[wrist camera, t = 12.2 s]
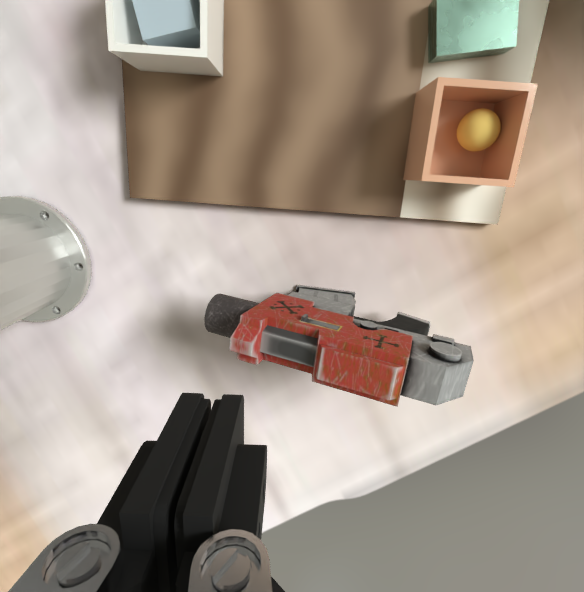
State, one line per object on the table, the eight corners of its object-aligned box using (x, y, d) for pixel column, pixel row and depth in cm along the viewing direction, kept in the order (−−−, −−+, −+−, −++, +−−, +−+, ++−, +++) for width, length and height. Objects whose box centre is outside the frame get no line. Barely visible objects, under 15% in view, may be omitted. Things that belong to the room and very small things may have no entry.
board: (135, 196, 37) (129, 197, 36) (123, -31, 31) (116, -39, 30) (491, 222, 36) (498, 224, 35) (542, -3, 31) (551, -10, 30)
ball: (452, 157, 32) (488, 139, 29) (444, 119, 32) (480, 98, 29) (476, 158, 33) (512, 141, 30) (469, 122, 33) (505, 102, 30)
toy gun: (267, 267, 42) (184, 303, 28) (466, 309, 36) (483, 382, 22) (263, 301, 43) (182, 352, 29) (455, 348, 37) (465, 439, 23)
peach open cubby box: (403, 179, 34) (421, 180, 29) (415, 92, 32) (438, 76, 27) (481, 185, 34) (513, 187, 29) (499, 98, 32) (537, 83, 27)
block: (162, 56, 32) (142, 40, 28) (147, -1, 30) (125, -26, 27) (209, 45, 31) (196, 27, 27) (196, -13, 30) (180, -40, 26)
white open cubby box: (140, 70, 32) (108, 50, 27) (135, -30, 30) (100, -73, 25) (223, 76, 32) (207, 57, 27) (224, -24, 30) (207, -66, 25)
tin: (428, 63, 32) (436, 56, 30) (428, 6, 30) (436, -6, 28) (503, 54, 31) (516, 46, 29) (506, -5, 30) (520, -17, 28)
